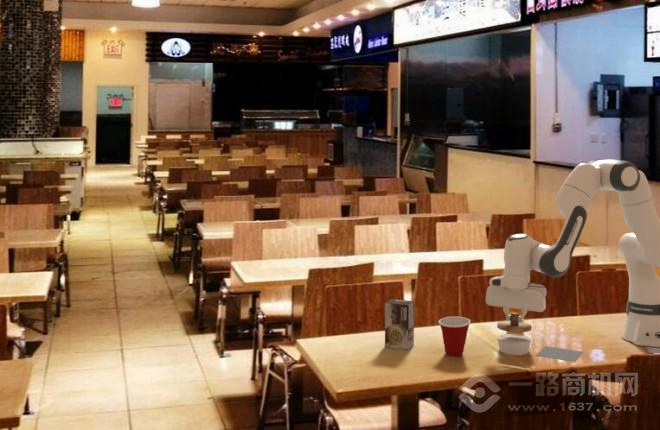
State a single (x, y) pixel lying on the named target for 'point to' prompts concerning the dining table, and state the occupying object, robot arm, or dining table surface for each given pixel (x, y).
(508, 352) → the ramekin
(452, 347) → the plastic cup
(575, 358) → the mat
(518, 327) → the lid
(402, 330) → the coffee box
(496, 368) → the dining table surface
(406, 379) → the dining table surface
